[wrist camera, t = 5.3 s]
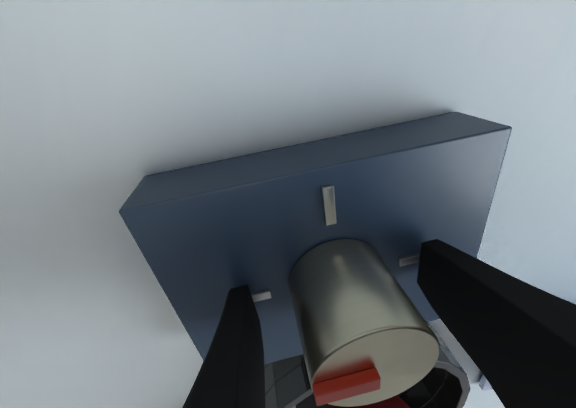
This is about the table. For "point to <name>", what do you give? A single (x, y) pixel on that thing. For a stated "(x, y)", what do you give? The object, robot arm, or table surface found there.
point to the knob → (357, 326)
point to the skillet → (420, 397)
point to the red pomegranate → (382, 404)
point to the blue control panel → (313, 216)
